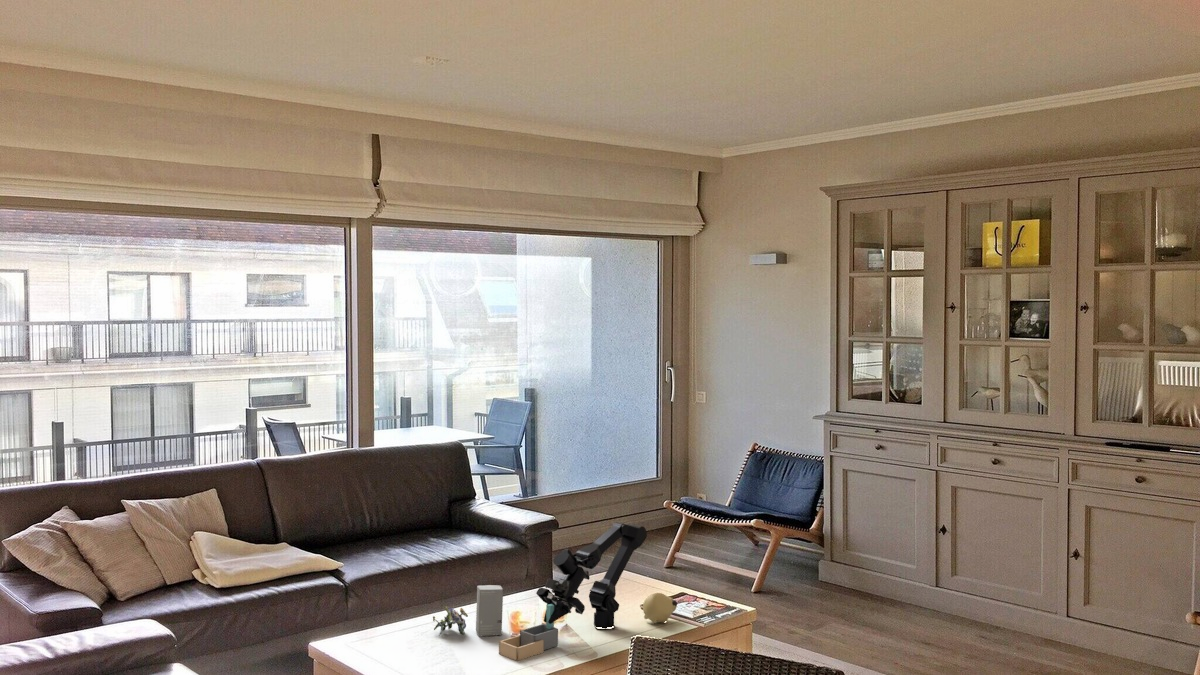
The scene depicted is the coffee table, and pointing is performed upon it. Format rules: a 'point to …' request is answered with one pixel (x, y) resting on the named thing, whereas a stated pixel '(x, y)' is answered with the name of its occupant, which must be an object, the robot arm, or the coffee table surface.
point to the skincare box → (489, 610)
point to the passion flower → (452, 620)
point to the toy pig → (658, 607)
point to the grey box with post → (541, 632)
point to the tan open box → (519, 648)
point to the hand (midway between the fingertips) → (546, 622)
